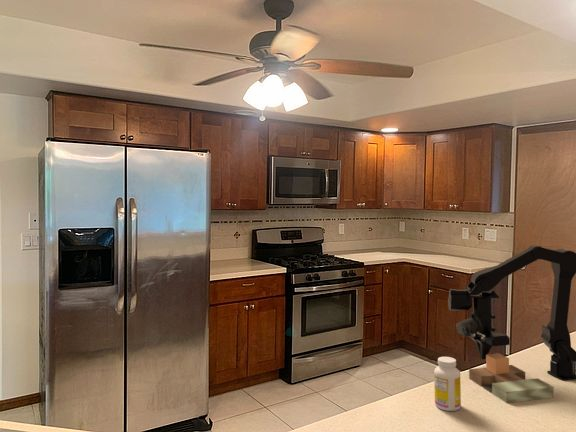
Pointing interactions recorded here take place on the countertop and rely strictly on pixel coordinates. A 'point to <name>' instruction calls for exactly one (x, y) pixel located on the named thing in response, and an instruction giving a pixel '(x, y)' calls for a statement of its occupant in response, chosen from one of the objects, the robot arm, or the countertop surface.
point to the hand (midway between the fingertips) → (482, 358)
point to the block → (497, 363)
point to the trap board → (511, 385)
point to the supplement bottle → (447, 385)
